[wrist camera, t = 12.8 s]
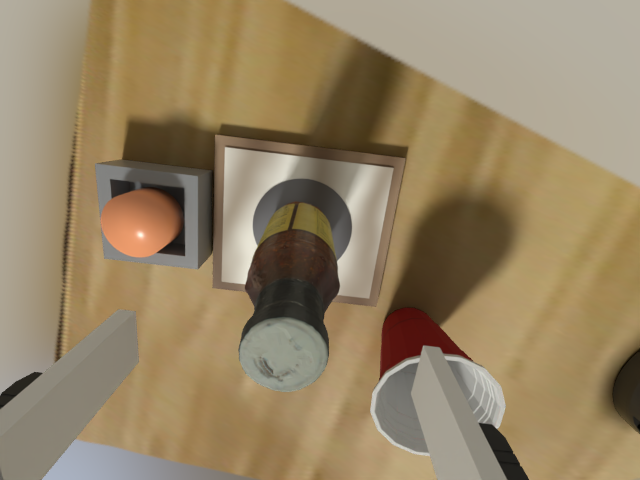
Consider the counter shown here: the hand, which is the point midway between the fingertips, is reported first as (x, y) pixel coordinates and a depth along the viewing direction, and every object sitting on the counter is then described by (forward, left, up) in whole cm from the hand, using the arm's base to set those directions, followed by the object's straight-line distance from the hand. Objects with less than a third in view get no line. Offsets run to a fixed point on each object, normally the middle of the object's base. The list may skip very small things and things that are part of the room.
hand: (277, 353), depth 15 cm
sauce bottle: (0, 0, -19) cm, 19 cm away
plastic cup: (-13, +11, -21) cm, 27 cm away
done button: (+14, 0, -17) cm, 23 cm away
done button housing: (+14, 0, -21) cm, 25 cm away
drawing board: (0, 0, -21) cm, 21 cm away
